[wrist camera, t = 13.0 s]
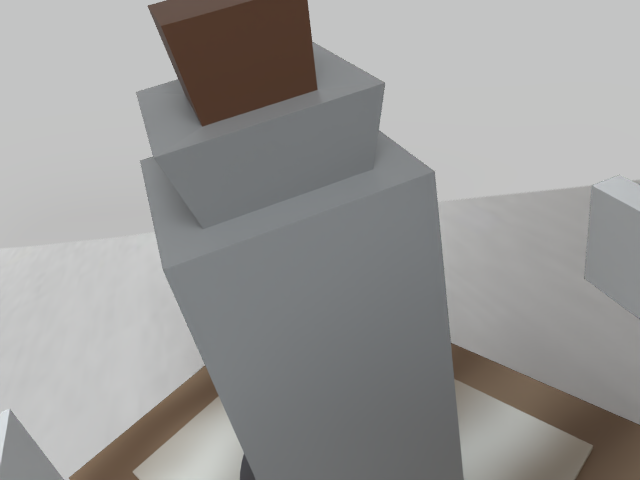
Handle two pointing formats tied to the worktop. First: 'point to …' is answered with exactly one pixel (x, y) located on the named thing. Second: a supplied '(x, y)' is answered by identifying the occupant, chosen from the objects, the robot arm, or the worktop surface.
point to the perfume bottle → (300, 248)
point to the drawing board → (473, 418)
